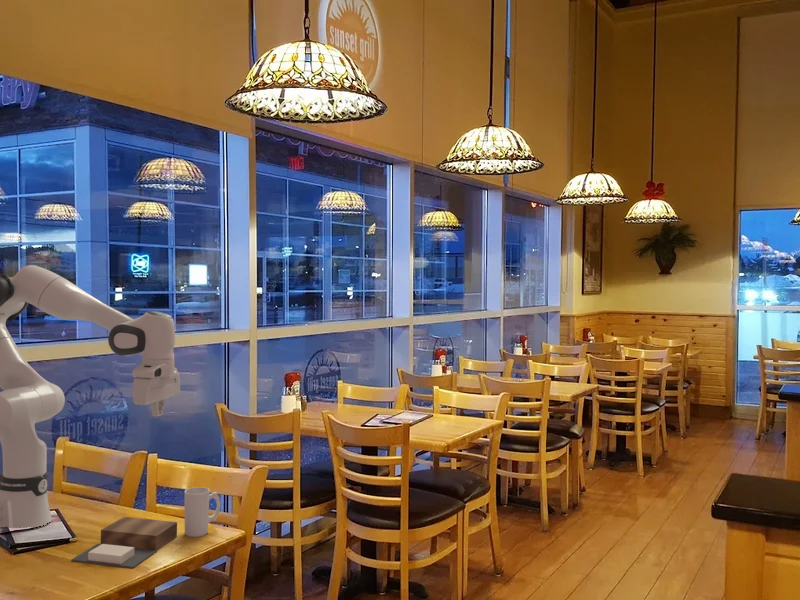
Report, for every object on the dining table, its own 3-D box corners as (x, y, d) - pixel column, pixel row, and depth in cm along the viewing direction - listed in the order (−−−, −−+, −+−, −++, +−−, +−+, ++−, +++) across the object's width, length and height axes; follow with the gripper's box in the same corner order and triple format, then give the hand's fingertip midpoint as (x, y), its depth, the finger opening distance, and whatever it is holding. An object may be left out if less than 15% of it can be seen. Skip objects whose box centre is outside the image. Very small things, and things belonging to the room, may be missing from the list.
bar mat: (71, 561, 184) (71, 559, 184) (97, 545, 194) (97, 543, 194) (133, 568, 180) (133, 566, 180) (156, 552, 191) (156, 550, 191)
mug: (186, 538, 201) (187, 495, 200) (181, 531, 207) (181, 488, 206) (223, 533, 206) (224, 490, 205) (216, 525, 212) (217, 484, 211)
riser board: (100, 544, 195) (100, 529, 195) (124, 530, 206) (124, 516, 205) (155, 551, 192) (156, 535, 191) (176, 536, 202) (177, 522, 202)
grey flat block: (102, 543, 189) (102, 551, 189) (88, 552, 183) (88, 560, 183) (134, 547, 187) (134, 555, 188) (121, 556, 182) (120, 564, 182)
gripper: (166, 363, 223) (166, 408, 224) (128, 371, 203) (127, 421, 204) (186, 364, 222) (185, 410, 222) (149, 373, 202) (148, 423, 202)
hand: (157, 415), depth 213 cm, fingers closed
